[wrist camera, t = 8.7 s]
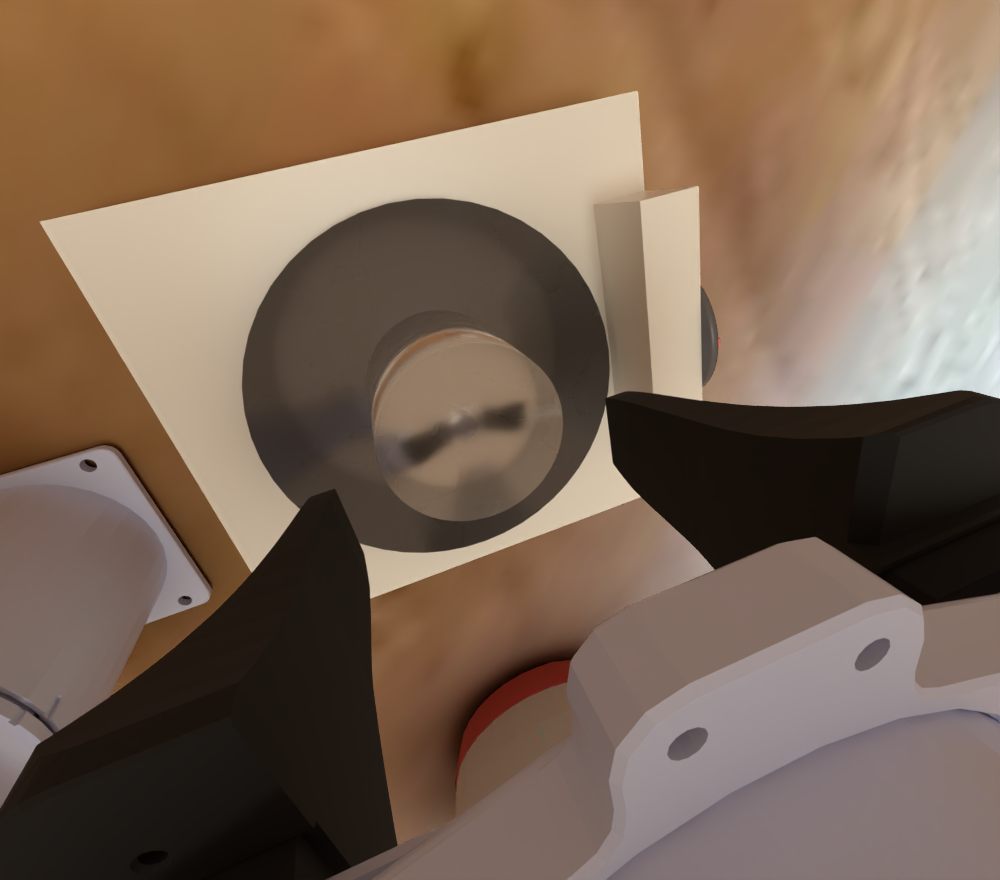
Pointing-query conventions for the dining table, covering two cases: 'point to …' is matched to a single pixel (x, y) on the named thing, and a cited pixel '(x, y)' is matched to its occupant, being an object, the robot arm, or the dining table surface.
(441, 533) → the pan
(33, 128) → the dining table surface
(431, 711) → the dining table surface
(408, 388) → the cylinder
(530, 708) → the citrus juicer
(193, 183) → the dining table surface
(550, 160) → the base
